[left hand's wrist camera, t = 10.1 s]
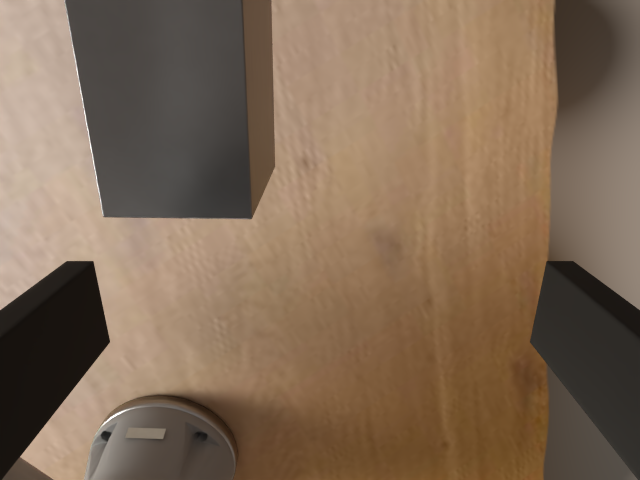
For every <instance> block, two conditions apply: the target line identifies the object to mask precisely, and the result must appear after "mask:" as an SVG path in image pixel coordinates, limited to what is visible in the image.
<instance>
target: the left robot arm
mask: <svg viewBox="0 0 640 480" xmlns="http://www.w3.org/2000/svg"><path fill="white" fill-rule="evenodd" d="M109 343H110V340H109V335H108V330H107V325H106V320H105V315H104V311H103V306H102V301H101V296H100V291H99V286H98V282H97V277H96V272H95V267H94V262H93V261H67V262H65V263H64V264H62V265H61V266H60V267H58V268H57V269H56V270H54V271H53V272H52V273H50V274H49V275H48V276H46V277H45V278H43V279H42V280H41V281H39V282H38V283H37V284H35V285H34V286H33V287H31V288H30V289H29V290H27V291H26V292H24V293H23V294H22V295H20V296H19V297H18V298H16V299H15V300H14V301H12V302H11V303H10V304H8V305H7V306H5V307H4V308H3V309H1V310H0V480H53V479H52V478H50V477H49V476H47V475H46V474H44V473H43V472H41V471H40V470H38V469H37V468H35V467H34V466H32V465H31V464H29V463H28V462H26V461H25V460H23V459H22V458H20V456H21V455H22V453H23V452H24V451H25V450H26V448H27V447H28V446H29V445H30V443H31V442H32V441H33V439H34V438H35V437H36V436H37V434H38V433H39V432H40V431H41V429H42V428H43V427H44V425H45V424H46V423H47V422H48V420H49V419H50V418H51V417H52V415H53V414H54V413H55V411H56V410H57V409H58V408H59V406H60V405H61V404H62V403H63V401H64V400H65V399H66V397H67V396H68V395H69V394H70V392H71V391H72V390H73V389H74V387H75V386H76V385H77V383H78V382H79V381H80V380H81V378H82V377H83V376H84V375H85V373H86V372H87V371H88V369H89V368H90V367H91V366H92V364H93V363H94V362H95V360H96V359H97V358H98V357H99V355H100V354H101V353H102V352H103V350H104V349H105V348H106V346H107V345H108V344H109ZM530 343H531V344H532V345H533V346H534V348H535V349H536V350H537V352H538V353H539V354H540V355H541V357H542V358H543V359H544V360H545V362H546V363H547V364H548V366H549V367H550V368H551V369H552V371H553V372H554V373H555V374H556V376H557V377H558V378H559V380H560V381H561V382H562V383H563V385H564V386H565V387H566V389H567V390H568V391H569V392H570V394H571V395H572V396H573V397H574V399H575V400H576V401H577V403H578V404H579V405H580V406H581V408H582V409H583V410H584V411H585V413H586V414H587V415H588V417H589V418H590V419H591V420H592V422H593V423H594V424H595V425H596V427H597V428H598V429H599V431H600V432H601V433H602V434H603V436H604V437H605V438H606V439H607V441H608V442H609V443H610V445H611V446H612V447H613V448H614V450H615V451H616V452H617V453H618V455H619V456H620V457H621V459H622V460H623V461H624V462H625V464H626V465H627V466H628V467H629V469H630V470H631V471H632V473H633V474H634V475H635V476H636V478H637V479H638V480H640V310H639V309H637V308H636V307H635V306H633V305H632V304H630V303H629V302H628V301H626V300H625V299H624V298H622V297H621V296H620V295H618V294H617V293H616V292H614V291H613V290H611V289H610V288H609V287H607V286H606V285H605V284H603V283H602V282H601V281H599V280H598V279H597V278H595V277H594V276H592V275H591V274H590V273H588V272H587V271H586V270H584V269H583V268H582V267H580V266H579V265H578V264H576V263H575V262H573V261H547V262H546V267H545V272H544V277H543V282H542V286H541V291H540V296H539V301H538V306H537V311H536V315H535V320H534V325H533V330H532V335H531V340H530ZM237 458H238V452H237V446H236V442H235V439H234V437H233V435H232V433H231V431H230V430H229V429H228V427H227V426H226V425H225V424H224V422H223V421H222V420H221V419H220V418H219V417H217V416H216V415H215V414H214V413H212V412H211V411H209V410H208V409H206V408H204V407H202V406H200V405H198V404H196V403H194V402H191V401H188V400H185V399H181V398H176V397H169V396H149V397H142V398H138V399H134V400H131V401H129V402H126V403H124V404H122V405H120V406H119V407H117V408H116V409H115V410H113V411H112V412H111V413H110V414H109V415H108V416H107V417H106V419H105V420H104V422H103V423H102V425H101V426H100V428H99V430H98V431H97V433H96V435H95V437H94V439H93V442H92V445H91V448H90V453H89V457H88V462H87V467H86V472H85V477H84V480H233V478H234V474H235V469H236V464H237Z"/></svg>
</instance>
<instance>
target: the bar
mask: <svg viewBox="0 0 640 480" xmlns="http://www.w3.org/2000/svg"><path fill="white" fill-rule="evenodd" d="M64 2H65V7H66V13H67V18H68V24H69V30H70V35H71V41H72V46H73V52H74V58H75V63H76V69H77V74H78V80H79V86H80V91H81V97H82V102H83V108H84V113H85V119H86V125H87V130H88V136H89V141H90V147H91V153H92V158H93V164H94V169H95V175H96V181H97V186H98V192H99V197H100V203H101V209H102V214H103V217H128V218H199V219H252V217H253V215H254V213H255V210H256V208H257V206H258V204H259V201H260V199H261V197H262V195H263V192H264V190H265V188H266V186H267V183H268V181H269V179H270V177H271V174H272V172H273V170H274V168H275V144H274V100H273V55H272V11H271V0H64Z"/></svg>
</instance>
